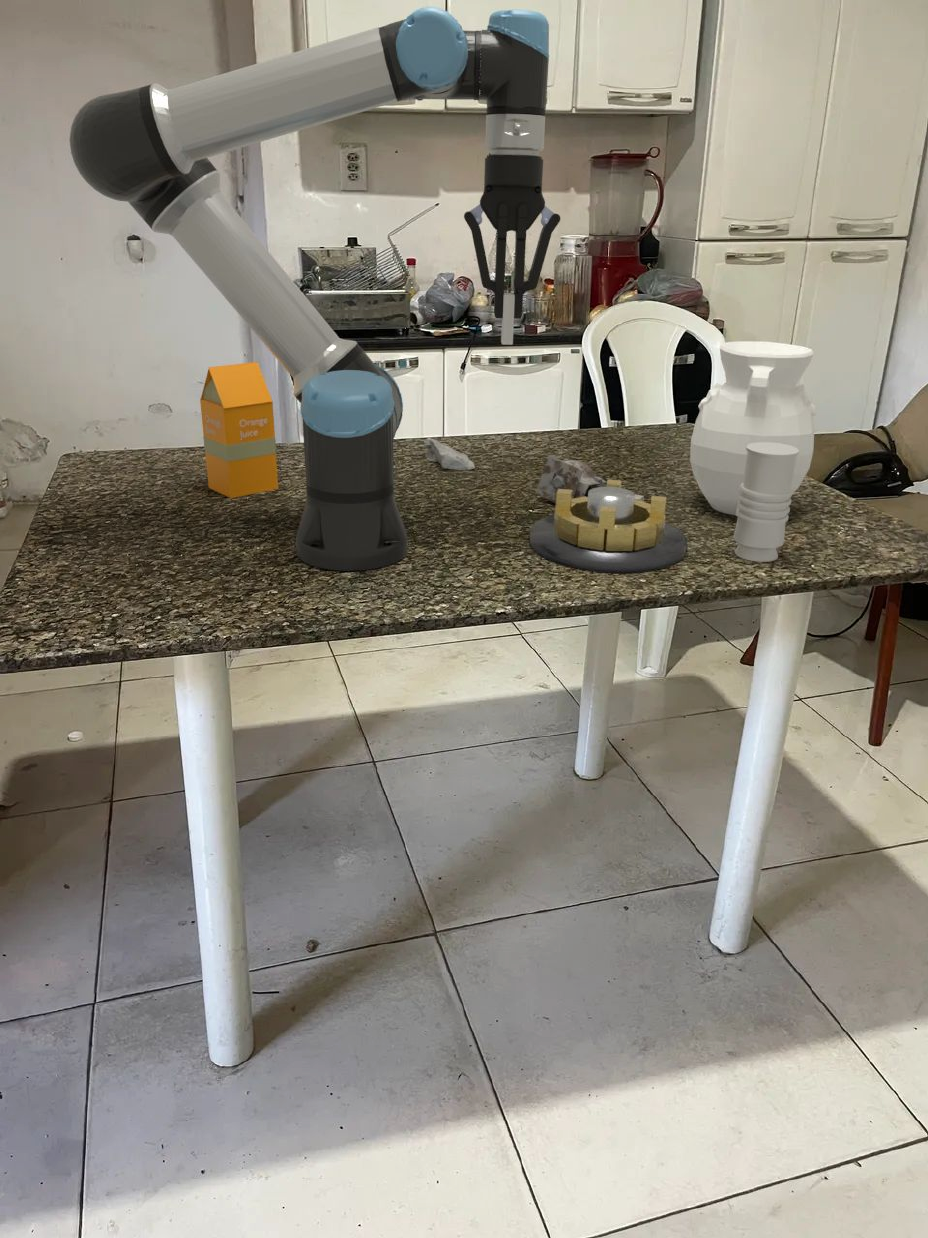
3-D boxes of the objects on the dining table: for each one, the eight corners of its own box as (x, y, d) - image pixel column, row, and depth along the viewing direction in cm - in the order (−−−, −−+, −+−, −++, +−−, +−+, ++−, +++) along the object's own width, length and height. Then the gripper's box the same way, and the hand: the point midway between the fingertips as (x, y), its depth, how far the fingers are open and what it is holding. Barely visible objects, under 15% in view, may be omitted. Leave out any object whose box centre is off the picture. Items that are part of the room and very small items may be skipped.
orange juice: (207, 487, 156) (195, 363, 148) (255, 478, 162) (245, 358, 154) (231, 498, 151) (220, 370, 143) (279, 488, 157) (271, 365, 148)
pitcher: (801, 532, 141) (831, 360, 131) (676, 517, 146) (695, 351, 136) (803, 497, 157) (830, 342, 147) (690, 485, 163) (708, 334, 152)
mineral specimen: (454, 459, 180) (454, 436, 178) (477, 471, 169) (478, 446, 168) (421, 460, 177) (422, 437, 176) (443, 472, 167) (444, 448, 165)
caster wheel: (621, 516, 155) (591, 522, 147) (565, 489, 160) (533, 493, 152) (635, 478, 152) (606, 482, 144) (578, 451, 157) (546, 454, 149)
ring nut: (533, 526, 136) (535, 489, 134) (612, 509, 143) (615, 474, 141) (602, 558, 125) (606, 518, 122) (684, 538, 132) (689, 500, 130)
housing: (544, 574, 124) (547, 520, 121) (518, 520, 144) (520, 472, 141) (707, 571, 126) (715, 517, 123) (660, 518, 146) (665, 470, 143)
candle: (733, 542, 136) (748, 439, 130) (783, 549, 134) (801, 445, 128) (727, 558, 130) (742, 451, 124) (779, 565, 128) (797, 457, 122)
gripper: (464, 151, 118) (460, 346, 128) (568, 153, 118) (556, 348, 128) (463, 153, 125) (459, 338, 135) (561, 155, 125) (551, 339, 135)
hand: (506, 342), depth 131 cm, fingers closed
